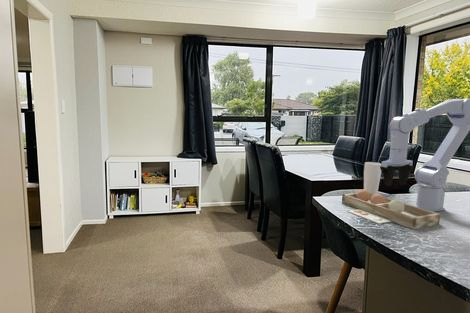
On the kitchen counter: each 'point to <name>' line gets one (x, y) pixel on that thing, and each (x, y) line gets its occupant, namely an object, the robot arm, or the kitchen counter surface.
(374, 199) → the terracotta ball
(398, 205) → the cream ball
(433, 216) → the two-well rack
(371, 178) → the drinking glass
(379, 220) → the card
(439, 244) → the kitchen counter surface
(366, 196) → the ball
